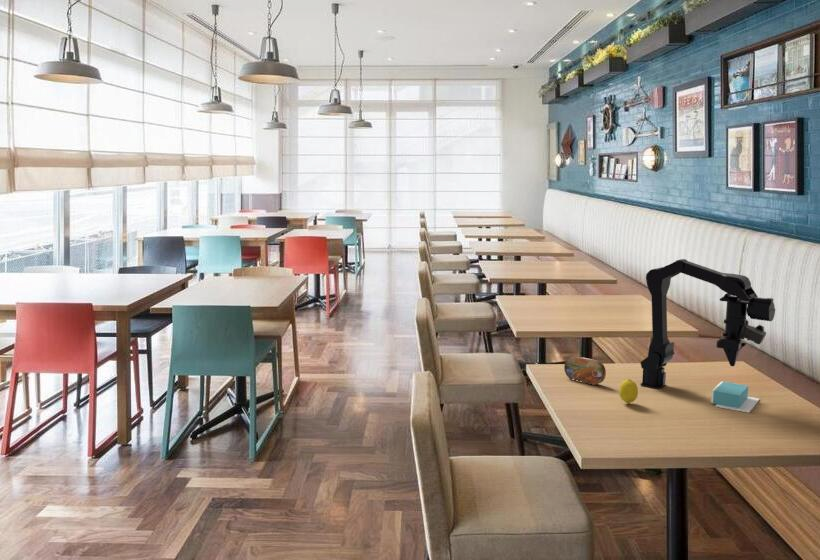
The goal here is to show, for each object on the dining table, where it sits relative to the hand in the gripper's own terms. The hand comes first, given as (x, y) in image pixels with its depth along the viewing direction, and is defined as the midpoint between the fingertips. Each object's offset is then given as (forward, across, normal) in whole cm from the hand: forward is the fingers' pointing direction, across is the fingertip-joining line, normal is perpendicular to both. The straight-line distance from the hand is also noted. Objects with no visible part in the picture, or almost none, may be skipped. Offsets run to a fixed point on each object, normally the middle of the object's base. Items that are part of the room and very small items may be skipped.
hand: (732, 365), depth 222 cm
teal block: (+9, 0, +4) cm, 10 cm away
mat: (+12, 0, -2) cm, 12 cm away
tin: (+12, -7, +45) cm, 47 cm away
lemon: (+12, -21, +25) cm, 35 cm away
